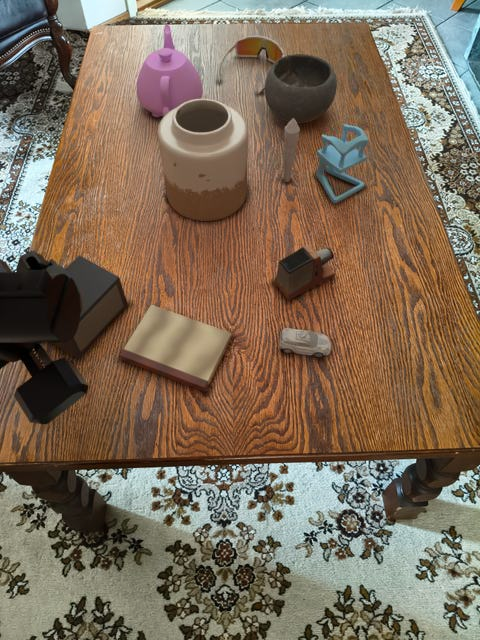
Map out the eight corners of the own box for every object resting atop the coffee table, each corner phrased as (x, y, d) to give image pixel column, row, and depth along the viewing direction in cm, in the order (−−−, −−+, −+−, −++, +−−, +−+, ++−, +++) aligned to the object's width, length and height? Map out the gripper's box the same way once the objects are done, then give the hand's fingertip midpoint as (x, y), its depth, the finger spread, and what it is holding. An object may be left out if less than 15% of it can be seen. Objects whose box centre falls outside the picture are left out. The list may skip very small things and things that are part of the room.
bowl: (250, 120, 109) (251, 75, 101) (285, 86, 116) (289, 42, 108) (310, 144, 105) (316, 100, 96) (343, 108, 112) (351, 64, 103)
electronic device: (335, 278, 86) (342, 249, 79) (288, 302, 83) (291, 274, 77) (319, 261, 88) (325, 231, 81) (273, 284, 85) (275, 255, 79)
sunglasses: (292, 62, 121) (293, 43, 117) (266, 104, 115) (266, 85, 111) (238, 48, 124) (237, 29, 120) (211, 88, 119) (209, 70, 114)
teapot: (143, 77, 118) (134, 23, 107) (204, 76, 118) (201, 22, 108) (135, 131, 107) (125, 77, 96) (202, 131, 107) (199, 76, 97)
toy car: (329, 359, 77) (333, 349, 75) (277, 352, 78) (279, 342, 75) (331, 339, 79) (334, 328, 77) (280, 332, 80) (281, 322, 77)
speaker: (78, 360, 77) (64, 334, 70) (39, 335, 79) (22, 308, 73) (128, 305, 82) (120, 277, 76) (90, 284, 85) (79, 254, 78)
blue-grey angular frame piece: (335, 164, 101) (346, 111, 91) (364, 187, 98) (379, 134, 88) (306, 179, 99) (314, 126, 89) (334, 204, 95) (346, 151, 85)
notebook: (120, 360, 77) (118, 354, 75) (152, 309, 82) (150, 303, 81) (205, 392, 74) (204, 387, 73) (232, 337, 79) (232, 332, 78)
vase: (261, 203, 95) (266, 126, 81) (189, 233, 91) (181, 157, 77) (222, 156, 102) (219, 78, 88) (153, 183, 98) (139, 105, 84)
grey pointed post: (295, 184, 98) (303, 121, 86) (282, 186, 98) (288, 124, 86) (290, 175, 100) (298, 112, 88) (277, 178, 99) (283, 115, 87)
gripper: (99, 341, 44) (151, 371, 59) (-2, 196, 49) (69, 257, 64) (-6, 422, 43) (74, 432, 58) (-98, 265, 48) (-3, 311, 63)
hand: (54, 353), depth 61 cm, fingers open, 9 cm apart
